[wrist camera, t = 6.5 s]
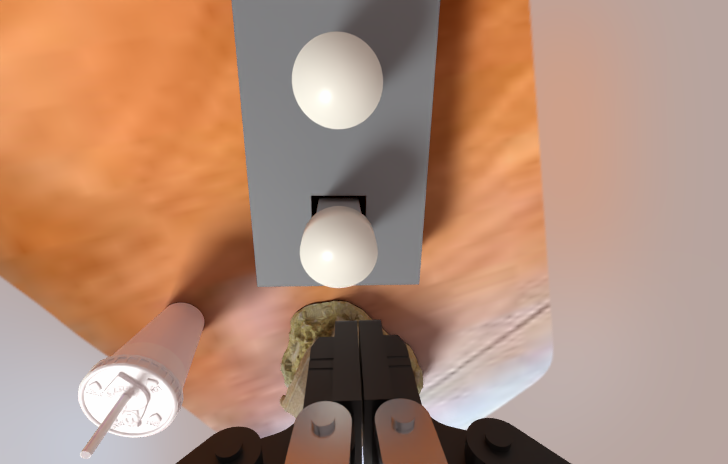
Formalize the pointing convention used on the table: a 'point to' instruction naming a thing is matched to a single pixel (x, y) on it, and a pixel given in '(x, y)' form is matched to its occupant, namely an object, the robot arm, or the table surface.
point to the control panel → (336, 131)
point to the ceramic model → (305, 333)
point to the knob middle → (337, 80)
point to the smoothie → (142, 378)
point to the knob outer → (338, 244)
